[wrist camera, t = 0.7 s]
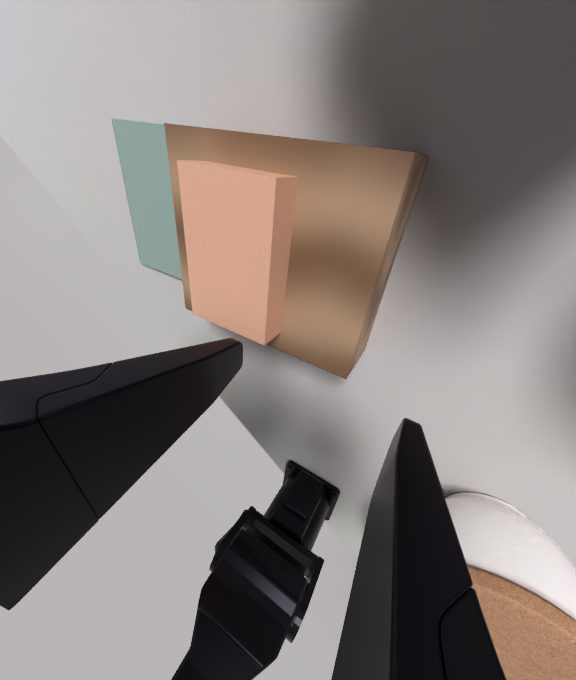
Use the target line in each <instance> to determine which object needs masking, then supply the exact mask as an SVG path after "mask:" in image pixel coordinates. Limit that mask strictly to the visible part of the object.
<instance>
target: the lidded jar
mask: <svg viewBox="0 0 576 680" xmlns="http://www.w3.org/2000/svg"><path fill="white" fill-rule="evenodd" d="M445 500H446V503H447V506H448V509H449V512H450V515H451V518H452V521H453V524H454V527H455V530H456V533H457V536H458V539H459V542H460V545H461V548H462V551H463V554H464V557H465V560H466V563H467V567H468V570H469V573H470V576H471V579H472V582H473V586H472V587H471V588H474V589H475V591H476V593H477V596H478V600H479V603H480V606H481V609H482V612H483V615H484V618H485V621H486V624H487V626H488V629H489V632H490V635H491V638H492V641H493V644H494V646H495V649H496V652H497V655H498V658H499V661H500V664H501V666H502V669H503V671H504V674H505V676H506V679H507V680H576V569H575V567H574V566H573V564H572V563H571V561H570V560H569V558H568V557H567V556H566V554H565V553H564V552H563V550H562V549H561V548H560V547H559V546H558V545H557V544H556V543H555V542H554V541H553V540H552V539H551V538H550V537H549V535H548V534H546V533H545V532H544V531H543V530H542V529H540V528H539V527H538V526H537V525H535V524H534V523H533V522H532V521H531V520H530V519H529V518H528V517H527V516H526V515H525V514H524V513H522V512H521V511H520V510H519V509H517V508H516V507H514V506H513V505H511V504H509V503H507V502H505V501H503V500H500V499H498V498H495V497H492V496H489V495H485V494H481V493H475V492H460V493H455V494H452V495H450V496H448V497H446V498H445Z"/></svg>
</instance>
